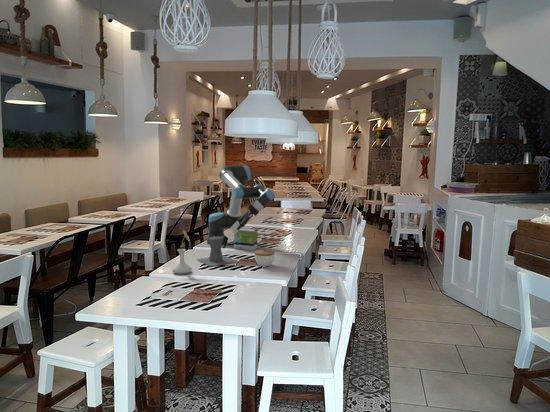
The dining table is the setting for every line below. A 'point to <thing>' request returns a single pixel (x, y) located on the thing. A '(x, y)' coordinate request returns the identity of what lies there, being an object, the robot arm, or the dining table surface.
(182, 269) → the flower in vase
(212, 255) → the coffeepot
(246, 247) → the tea box
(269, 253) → the lidded bowl
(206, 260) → the mat
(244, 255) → the dining table surface
